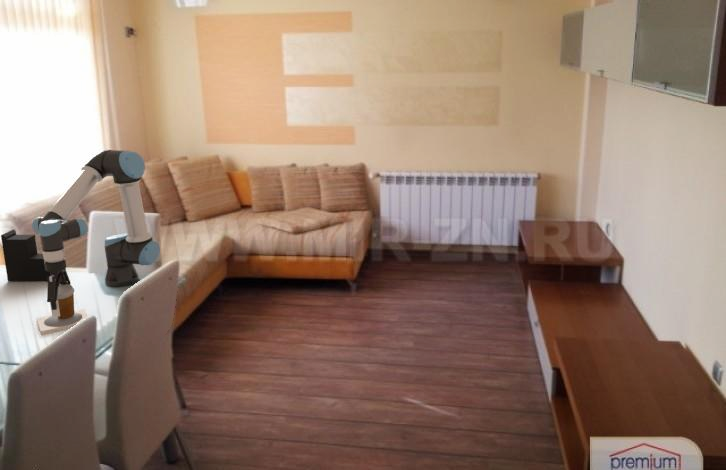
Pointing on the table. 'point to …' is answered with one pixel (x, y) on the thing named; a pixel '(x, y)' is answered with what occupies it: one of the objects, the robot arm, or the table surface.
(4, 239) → the bookend
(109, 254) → the robot arm
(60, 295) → the disposable coffee cup
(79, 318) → the carrier board
